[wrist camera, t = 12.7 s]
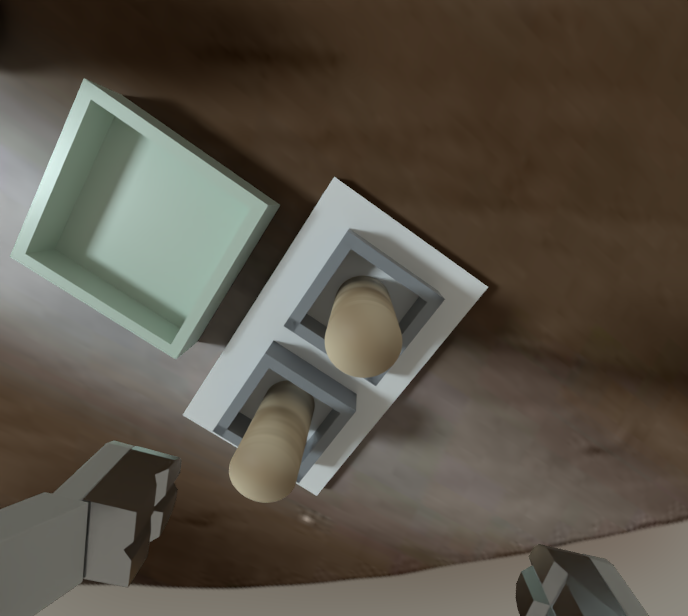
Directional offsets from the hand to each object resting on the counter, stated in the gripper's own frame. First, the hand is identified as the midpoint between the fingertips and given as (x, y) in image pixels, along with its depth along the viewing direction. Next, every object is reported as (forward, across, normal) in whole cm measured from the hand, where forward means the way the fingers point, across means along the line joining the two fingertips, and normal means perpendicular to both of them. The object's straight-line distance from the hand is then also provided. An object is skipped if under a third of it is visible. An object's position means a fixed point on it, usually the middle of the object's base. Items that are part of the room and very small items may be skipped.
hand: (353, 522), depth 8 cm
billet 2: (+19, 0, 0) cm, 19 cm away
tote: (+20, +15, -2) cm, 26 cm away
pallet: (+20, +2, +5) cm, 21 cm away
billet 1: (+19, +3, +9) cm, 22 cm away
